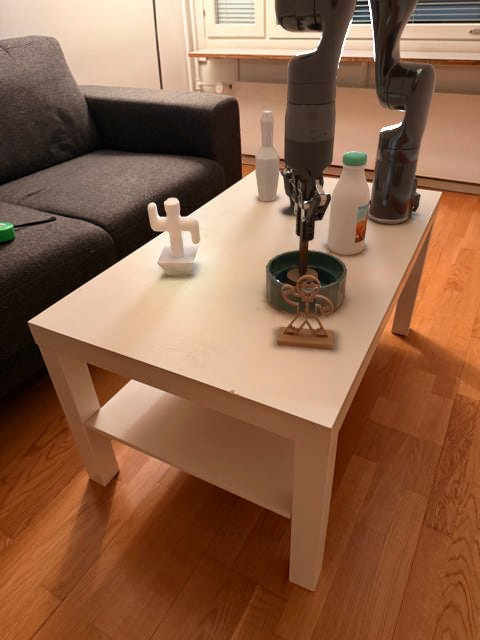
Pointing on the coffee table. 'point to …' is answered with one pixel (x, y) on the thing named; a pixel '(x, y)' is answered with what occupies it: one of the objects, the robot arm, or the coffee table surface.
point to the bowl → (331, 287)
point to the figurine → (175, 237)
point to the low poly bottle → (267, 161)
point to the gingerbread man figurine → (303, 335)
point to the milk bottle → (349, 206)
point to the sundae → (283, 172)
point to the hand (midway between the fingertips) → (304, 237)
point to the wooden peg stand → (301, 265)
